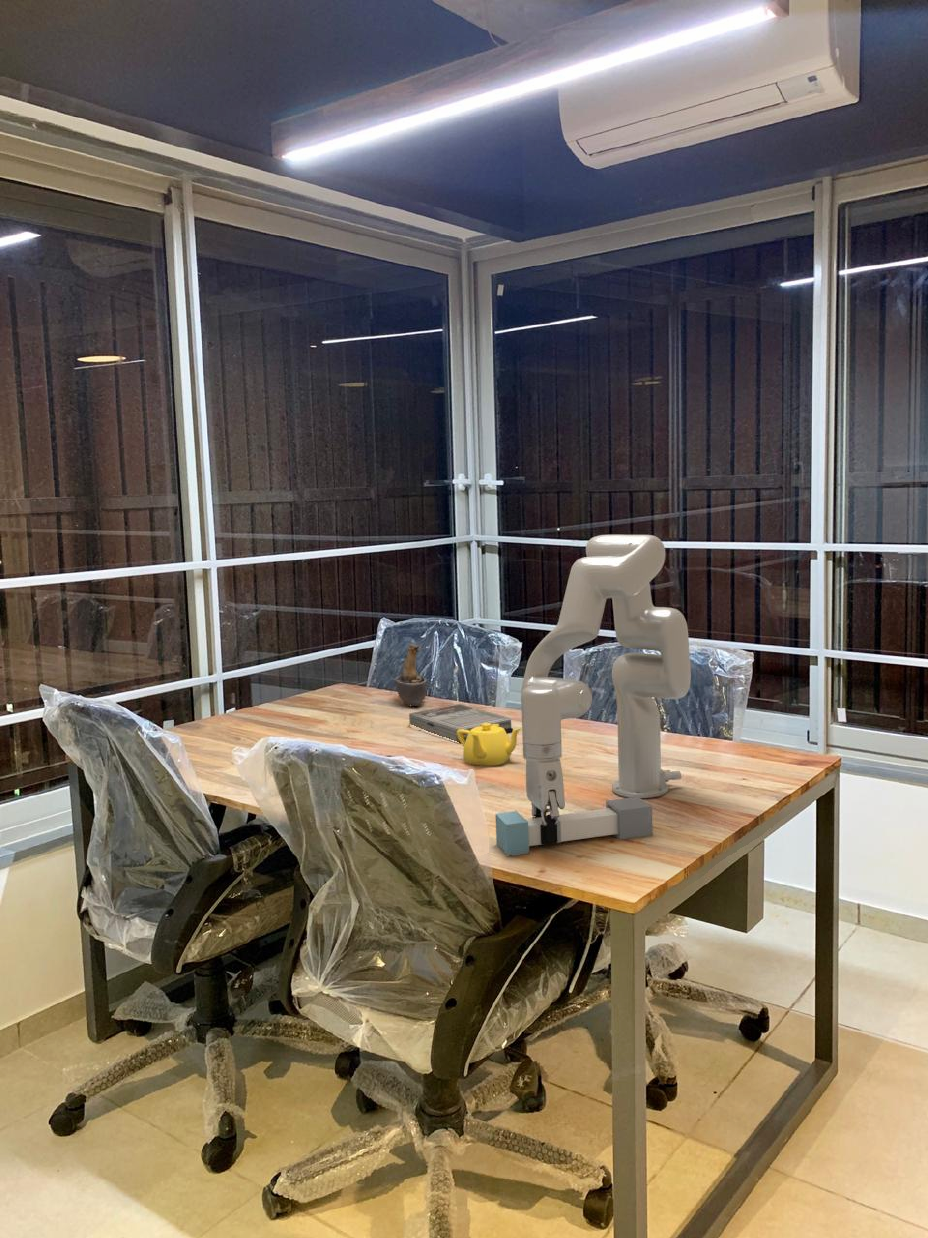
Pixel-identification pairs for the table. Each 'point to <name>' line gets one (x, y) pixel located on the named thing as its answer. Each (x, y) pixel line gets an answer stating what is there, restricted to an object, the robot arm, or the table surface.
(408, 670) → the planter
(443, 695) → the table surface
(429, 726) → the hard drive
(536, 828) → the bar
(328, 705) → the table surface
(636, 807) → the sleeve
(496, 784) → the table surface
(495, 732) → the teapot
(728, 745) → the table surface
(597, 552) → the robot arm
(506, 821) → the socket
